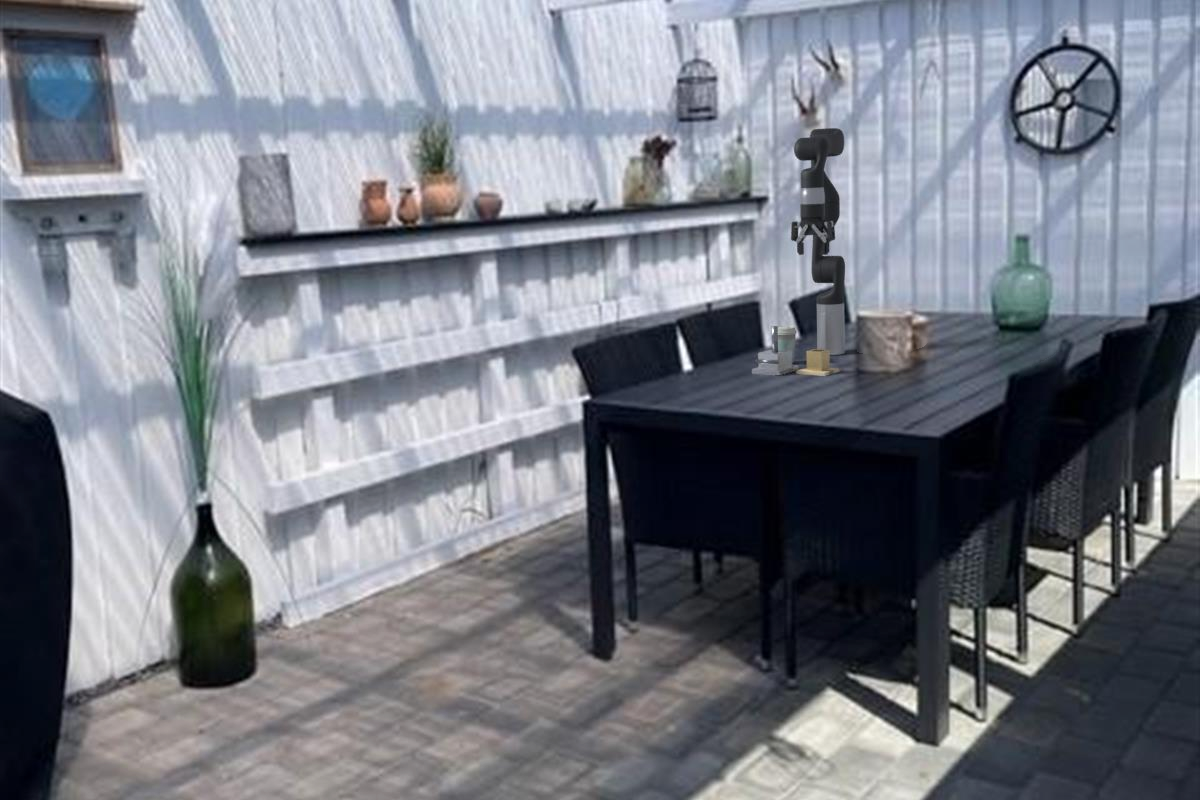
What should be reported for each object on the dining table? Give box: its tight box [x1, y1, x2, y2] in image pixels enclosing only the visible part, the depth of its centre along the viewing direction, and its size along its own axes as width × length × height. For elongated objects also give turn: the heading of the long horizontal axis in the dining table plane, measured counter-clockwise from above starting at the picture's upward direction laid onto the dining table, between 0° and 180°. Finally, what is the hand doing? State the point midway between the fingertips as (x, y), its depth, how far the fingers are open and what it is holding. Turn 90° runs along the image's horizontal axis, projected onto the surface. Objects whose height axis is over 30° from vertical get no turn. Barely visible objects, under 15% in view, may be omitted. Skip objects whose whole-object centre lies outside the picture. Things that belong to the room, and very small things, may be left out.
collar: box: [806, 348, 831, 371], centre depth 401 cm, size 5×5×6 cm
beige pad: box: [795, 367, 841, 377], centre depth 401 cm, size 10×10×1 cm
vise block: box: [751, 325, 800, 376], centre depth 405 cm, size 12×10×14 cm
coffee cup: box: [770, 325, 798, 364], centre depth 421 cm, size 9×8×12 cm
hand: (813, 254), depth 403 cm, fingers open, 8 cm apart
